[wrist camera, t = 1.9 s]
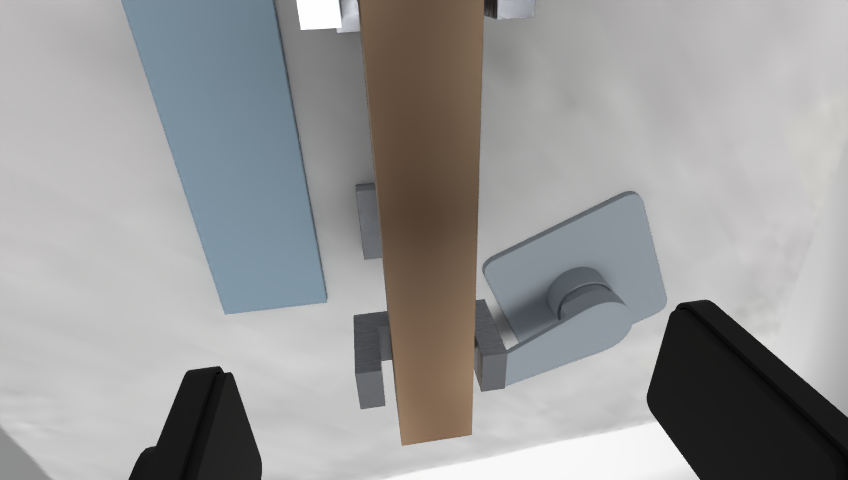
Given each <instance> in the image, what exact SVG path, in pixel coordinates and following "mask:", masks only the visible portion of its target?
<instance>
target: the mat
mask: <svg viewBox="0 0 848 480" xmlns="http://www.w3.org/2000/svg"><path fill="white" fill-rule="evenodd" d="M121 1H122V4H123V7H124V10H125V13H126V16H127V19H128V22H129V25H130V28H131V31H132V34H133V37H134V40H135V43H136V46H137V49H138V52H139V55H140V58H141V61H142V64H143V67H144V71H145V74H146V77H147V80H148V83H149V86H150V89H151V92H152V95H153V98H154V101H155V104H156V107H157V110H158V113H159V116H160V119H161V122H162V125H163V128H164V131H165V134H166V137H167V140H168V143H169V146H170V149H171V152H172V155H173V158H174V161H175V164H176V167H177V171H178V174H179V177H180V180H181V183H182V186H183V189H184V192H185V195H186V198H187V201H188V204H189V207H190V210H191V213H192V216H193V219H194V222H195V225H196V228H197V231H198V234H199V237H200V240H201V243H202V246H203V249H204V252H205V255H206V258H207V261H208V264H209V268H210V271H211V274H212V277H213V280H214V283H215V286H216V289H217V292H218V295H219V298H220V301H221V304H222V307H223V310H224V313H225V314H234V313H242V312H250V311H259V310H267V309H276V308H284V307H292V306H301V305H309V304H318V303H326V302H327V294H326V288H325V282H324V277H323V271H322V266H321V260H320V255H319V249H318V243H317V238H316V232H315V227H314V221H313V215H312V210H311V204H310V199H309V193H308V188H307V182H306V176H305V171H304V165H303V160H302V154H301V148H300V143H299V137H298V132H297V126H296V121H295V115H294V109H293V104H292V98H291V93H290V87H289V82H288V76H287V70H286V65H285V59H284V54H283V48H282V42H281V37H280V31H279V26H278V20H277V15H276V9H275V3H274V0H121Z"/></svg>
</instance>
